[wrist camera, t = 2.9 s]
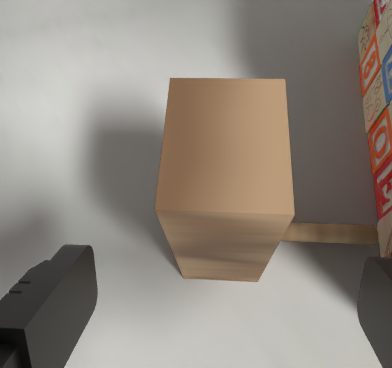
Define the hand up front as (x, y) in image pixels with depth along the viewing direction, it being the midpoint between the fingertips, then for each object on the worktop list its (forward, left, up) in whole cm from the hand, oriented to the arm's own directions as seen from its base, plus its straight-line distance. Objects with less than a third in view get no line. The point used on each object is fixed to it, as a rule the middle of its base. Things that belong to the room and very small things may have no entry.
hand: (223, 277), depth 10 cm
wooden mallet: (-3, -4, -9) cm, 10 cm away
